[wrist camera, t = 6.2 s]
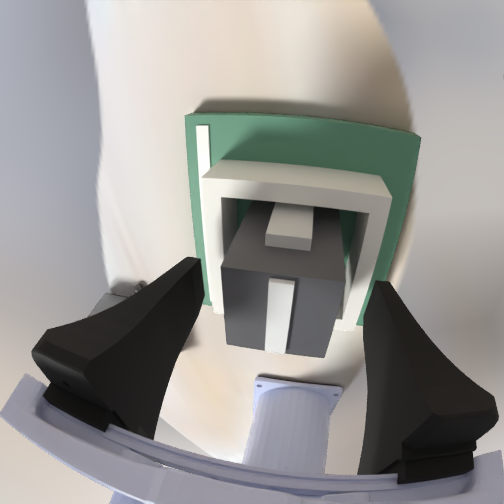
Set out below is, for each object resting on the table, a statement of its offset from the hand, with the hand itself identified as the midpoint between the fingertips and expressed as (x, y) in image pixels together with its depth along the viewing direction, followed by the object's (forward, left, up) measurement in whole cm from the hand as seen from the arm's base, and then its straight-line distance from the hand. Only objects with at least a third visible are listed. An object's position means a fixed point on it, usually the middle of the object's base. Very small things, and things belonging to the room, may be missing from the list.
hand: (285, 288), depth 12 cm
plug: (0, 0, -4) cm, 4 cm away
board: (0, 0, -5) cm, 5 cm away
